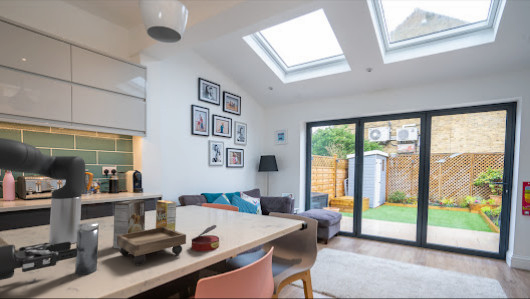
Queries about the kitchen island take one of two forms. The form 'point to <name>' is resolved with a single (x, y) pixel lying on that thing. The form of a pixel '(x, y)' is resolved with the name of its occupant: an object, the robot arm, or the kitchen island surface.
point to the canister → (86, 248)
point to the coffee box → (128, 218)
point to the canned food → (205, 241)
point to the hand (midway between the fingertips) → (73, 248)
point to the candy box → (166, 214)
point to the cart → (150, 242)
